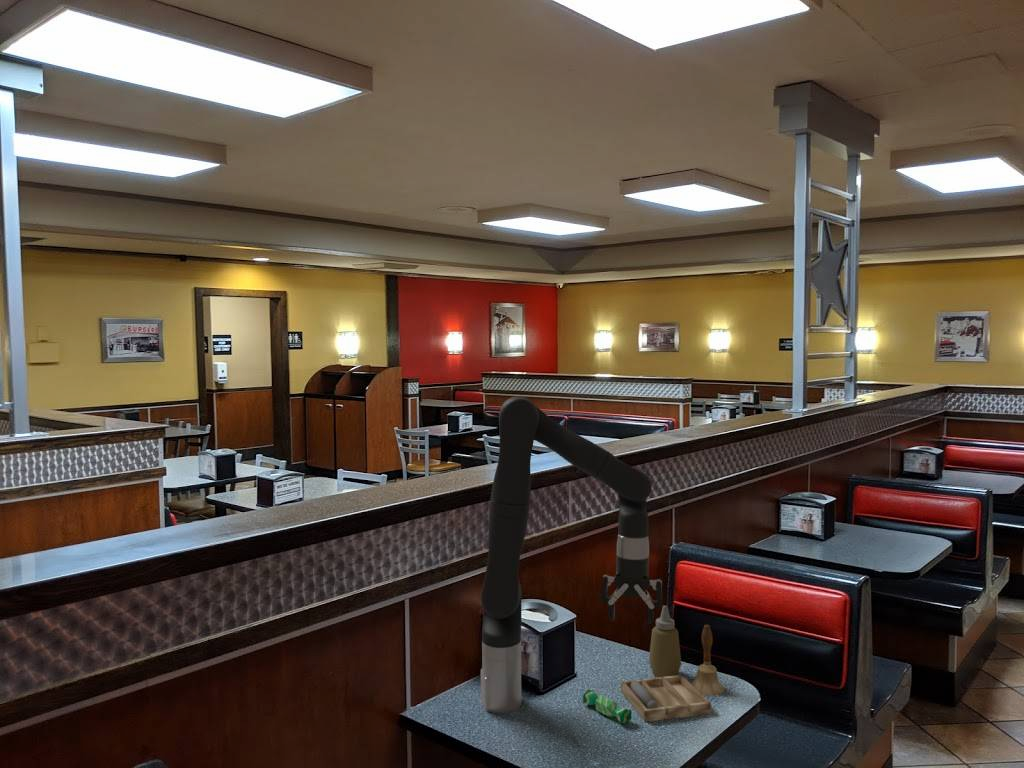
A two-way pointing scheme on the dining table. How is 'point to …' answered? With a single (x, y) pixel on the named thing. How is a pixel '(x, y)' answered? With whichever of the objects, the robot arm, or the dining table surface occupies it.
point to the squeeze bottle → (665, 647)
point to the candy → (607, 706)
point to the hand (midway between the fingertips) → (630, 621)
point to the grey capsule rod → (643, 695)
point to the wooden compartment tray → (667, 698)
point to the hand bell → (707, 669)
